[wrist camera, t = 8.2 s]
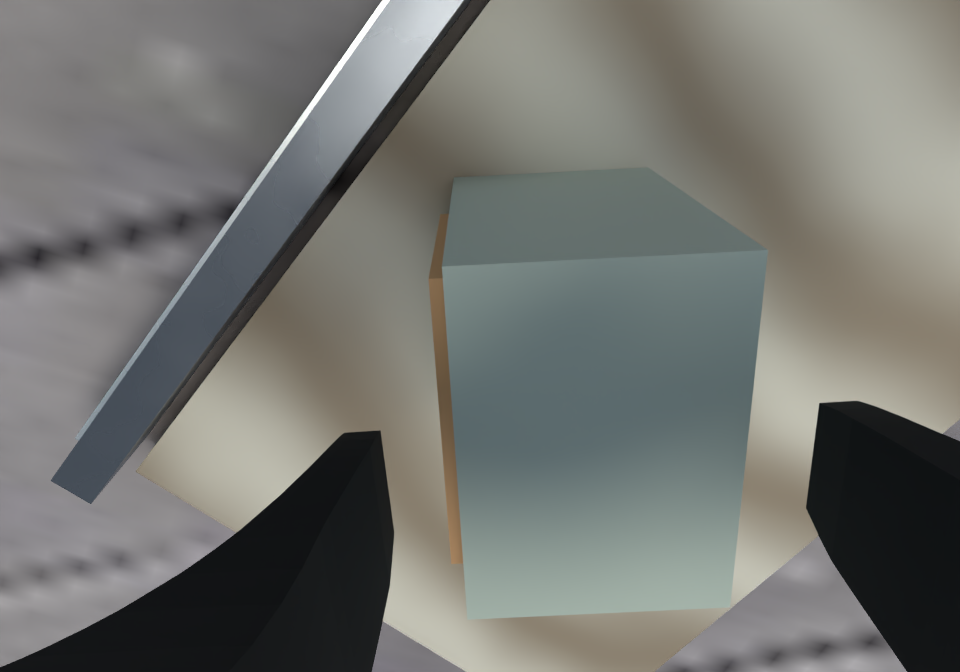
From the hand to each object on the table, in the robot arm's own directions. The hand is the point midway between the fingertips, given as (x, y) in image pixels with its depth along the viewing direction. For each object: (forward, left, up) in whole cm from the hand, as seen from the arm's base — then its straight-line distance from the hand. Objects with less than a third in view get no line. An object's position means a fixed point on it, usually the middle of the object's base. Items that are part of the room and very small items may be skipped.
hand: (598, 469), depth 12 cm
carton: (0, 0, -8) cm, 9 cm away
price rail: (0, -7, -10) cm, 12 cm away
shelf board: (0, +3, -10) cm, 10 cm away
